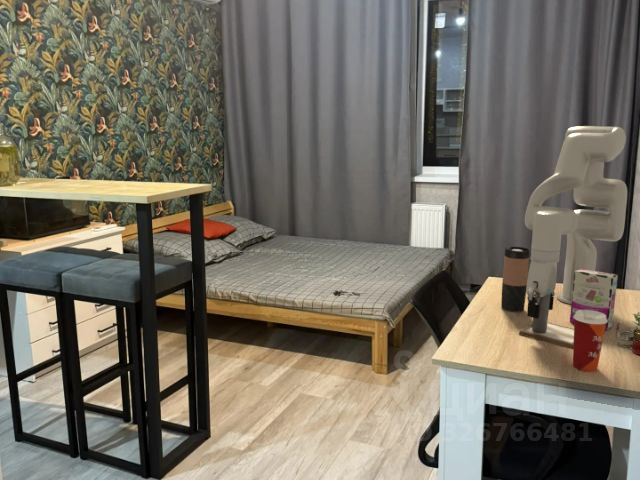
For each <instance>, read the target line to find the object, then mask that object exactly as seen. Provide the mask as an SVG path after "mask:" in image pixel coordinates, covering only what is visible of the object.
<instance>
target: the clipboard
mask: <svg viewBox="0 0 640 480" xmlns="http://www.w3.org/2000/svg"><path fill="white" fill-rule="evenodd" d="M518 331H519V332H518V334H519V335H522V336H526V337H528V338H533V339H537V340H540V341H544V342H547V343H551V344H555V345H560V346H563V347H566V348H571V349H573V345H574V327H567V326H563V325H559V324H555V323H552V322H548V323H547V331H546V333H536V332H533V331H532V323H531V324H530V323H529V324H528V325H527V326H524V328H522V329H520V330H518Z"/></svg>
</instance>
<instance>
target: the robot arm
mask: <svg viewBox="0 0 640 480" xmlns="http://www.w3.org/2000/svg"><path fill="white" fill-rule="evenodd" d="M564 138H565V139H564V140H563V143H562V147H561V149H560V152H559V156H558V159H557V163H556V166H555V169H554V173H553V175H551V176H550V177H548V178H546V179H545V180H543V182H542V183H540V185H538V186H537V187H536V188H535V190H534V191H532V193H531V195H530V197H529V199H528V204H527V207H526V210H525V215H524V224H525V227H526V228H527V229H528V230H530V231H532V239H531V249H530V264H529V267H528V278H527V288H526V295H527V297H526V298H527V309H526V310H527V311H526V312H527V313H526V316H527V317H529V318H532V319H533V318H539V310H540V305H539V302H540V299H541V297H543V296H545V295H547V292H548V290H549V289H551V294H550V303H549V311H552V310H553V309H554V300H555V290H556V286H557V276H558V275H557V274H558V272H557V270H558V269H557V268H558V263H559V262H560V256H561V255H560V254H561V245H562V244H561V243H562V236H565V235H566V236H567V237H566V251H565V261H564V263H565V264H564V272H563V282H562V292H559V293H557V295H556V299H557V300H559V302H562V303H564V304H569V305H571V304H572V293H573V283H574V272H575V271H576V270H578V269H586V270H592V271H596V267H597V266H596V265H597V258H598V257H597V256H598V254H597V253H598V252H597V248H596V246H595V243H593V241H592V240H596V241H597V240H598V241H604V242H605V241H606V242H618V241H619V240H621V239H622V237H623V235H624V230H625V225H626V224H625V222H626V211H627V203H628V187H627V184H626V183H625V181H623V180H621V179H616V178H605V177H604V169H605V163H609V162H612V161H613V160H614V159H615V158H617V157H618V156H619V155H620V154H621V153H622V151H623V150H624V147H625V145H626V142H627V141H626V140H627V136H626V132H625V130H624V129H623V128H622V127H620V126H597V125H596V126H595V125H583V126H580V125H578V126H572V127H570V128H568V129H567V130H566V131H565V136H564ZM571 190H573V193H572V194H573V201H574V203H576V205H579V206H582V207H583V206H584V207H591V208H602V209H603V208H604V209H607V210H608V211H602V210H594V209H585V208H584V209H581V208H580V209H574V210H573V209H571V208H567V207H566V208H565V207H558V206H557V207H556V206H545V205H543V204H544V202H545V201H547V200H548V199H549V198H551V197H553V196H556V195H558V194H561V193H564V192H569V191H571ZM537 293H539V294H537ZM535 297H537V299H536V298H535Z"/></svg>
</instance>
